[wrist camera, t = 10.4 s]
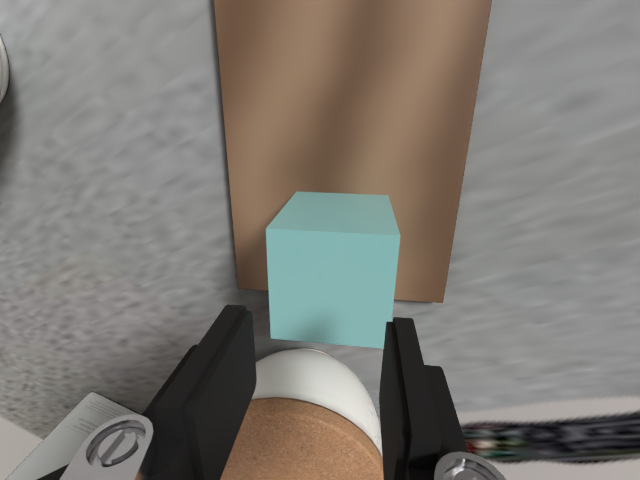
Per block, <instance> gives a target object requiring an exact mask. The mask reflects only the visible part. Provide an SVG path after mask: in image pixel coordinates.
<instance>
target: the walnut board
mask: <svg viewBox="0 0 640 480" xmlns="http://www.w3.org/2000/svg"><path fill="white" fill-rule="evenodd" d="M491 4H492V0H214V8H215V20H216V31H217V43H218V55H219V66H220V78H221V90H222V102H223V113H224V125H225V137H226V148H227V160H228V172H229V184H230V195H231V207H232V219H233V230H234V242H235V254H236V266H237V277H238V289H251V290H266V291H269V290H268V268H267V247H266V228H267V226H268V225H269V224H270V223H271V222H272V220H273V219H274V218H275V217H276V216H277V214H278V213H279V212H280V211H281V210H282V208H283V207H284V206H285V205H286V203H287V202H288V201H289V200H290V199H291V197H292V196H293V195H294V194H295V193H296V192H320V193H345V194H370V195H388V196H389V199H390V202H391V206H392V209H393V212H394V216H395V219H396V222H397V226H398V229H399V232H400V245H399V255H398V264H397V274H396V283H395V293H394V300H408V301H423V302H437V303H443V299H444V293H445V287H446V281H447V274H448V268H449V262H450V256H451V250H452V244H453V237H454V231H455V225H456V219H457V213H458V207H459V201H460V194H461V188H462V182H463V176H464V170H465V164H466V157H467V151H468V145H469V139H470V133H471V127H472V121H473V114H474V108H475V102H476V96H477V90H478V84H479V77H480V71H481V65H482V59H483V53H484V47H485V40H486V34H487V28H488V22H489V16H490V10H491Z"/></svg>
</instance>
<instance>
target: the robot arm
mask: <svg viewBox="0 0 640 480" xmlns="http://www.w3.org/2000/svg"><path fill="white" fill-rule="evenodd" d="M256 382H257V375H256V361H255V347H254V333H253V319H252V312H251V311H247V309H246V307H245V306H240V305H226V306H225V308H224V309H223V310H222V312H221V313H220V315H219V316H218V317H217V319H216V320H215V322H214V323H213V325H212V326H211V327H210V329H209V330H208V332H207V333H206V334H205V336H204V337H203V339H202V340H201V342H200V343H199V344H198V345H194V346H192V347H191V348H190V349H189V351H188V352H187V353H186V355H185V356H184V358H183V359H182V360H181V362H180V363H179V364H178V366H177V367H176V369H175V370H174V371H173V373H172V374H171V375H170V377H169V378H168V380H167V381H166V382H165V384H164V385H163V386H162V388H161V389H160V391H159V392H158V393H157V395H156V396H155V397H154V399H153V400H152V402H151V403H150V404H149V406H148V407H147V408H146V410H145V411H144V412H143V414H142V415H136V414H130V415H124V416H120V417H117V418H114V419H112V420H109V421H108V422H106V423H104V424H103V425H101V426H99V427H98V428H97V429H96V430H94V431H93V432H92V433H91V434H90V435H89V436H88V437H87V438H86V440H85V441H84V442H83V443H82V445H81V446H80V448H79V449H78V451H77V453H76V454H75V456H74V457H73V459H72V461H71V462H70V463H69V464H67V465H65V466H63V467H61V468H59V469H57V470H55V471H53V472H51V473H49V474H47V475H45V476H43V477H41V478H39V479H37V480H220V479H221V476H222V474H223V471H224V468H225V466H226V463H227V461H228V458H229V456H230V453H231V450H232V448H233V445H234V443H235V440H236V437H237V435H238V432H239V430H240V427H241V425H242V422H243V419H244V417H245V414H246V412H247V409H248V407H249V404H250V401H251V399H252V396H253V394H254V391H255V388H256ZM379 404H380V422H381V440H382V458H383V476H384V480H506V479H505V478H504V476H503V475H502V474H501V473H500V472H499V471H498V470H497V469H496V468H495V467H494V466H493V465H492V464H490V463H489V462H487V461H486V460H484V459H483V458H481V457H478V456H476V455H473V454H471V453H468V450H467V447H466V443H465V440H464V437H463V434H462V430H461V427H460V424H459V421H458V418H457V414H456V411H455V408H454V404H453V401H452V398H451V395H450V391H449V388H448V385H447V382H446V378H445V375H444V372H443V370H442V368H441V367H440V366H429V365H424V363H423V358H422V354H421V350H420V346H419V342H418V338H417V333H416V329H415V325H414V321H413V319H412V318H399V317H394V318H393V322H386V329H385V340H384V350H383V361H382V371H381V382H380V394H379Z"/></svg>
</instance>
